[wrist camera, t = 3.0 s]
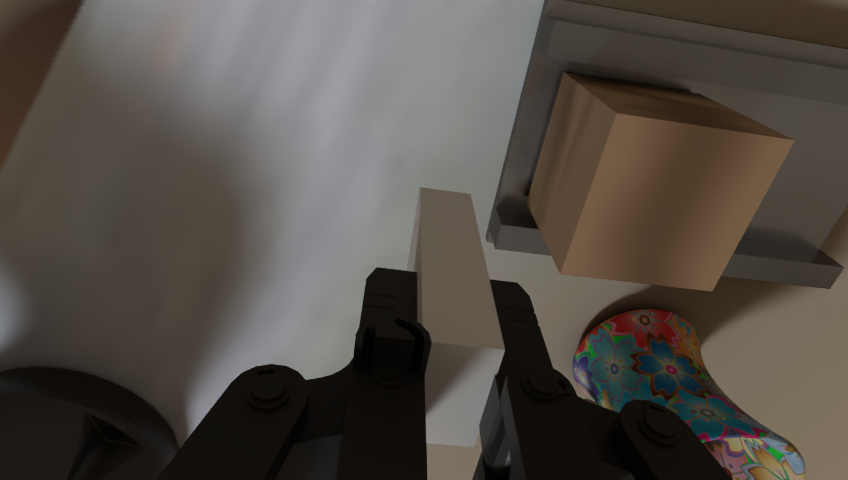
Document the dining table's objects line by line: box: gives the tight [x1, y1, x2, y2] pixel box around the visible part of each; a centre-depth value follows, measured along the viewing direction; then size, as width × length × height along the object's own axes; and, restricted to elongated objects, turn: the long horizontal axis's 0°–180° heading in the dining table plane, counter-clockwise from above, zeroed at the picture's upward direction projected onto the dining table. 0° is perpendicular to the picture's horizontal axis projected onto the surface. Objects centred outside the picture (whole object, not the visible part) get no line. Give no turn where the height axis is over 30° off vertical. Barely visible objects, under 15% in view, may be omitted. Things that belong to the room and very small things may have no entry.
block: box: [527, 72, 795, 291], centre depth 23 cm, size 7×7×7 cm
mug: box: [573, 309, 805, 480], centre depth 30 cm, size 12×9×11 cm
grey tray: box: [486, 0, 848, 289], centre depth 26 cm, size 20×13×3 cm, turn 81°
